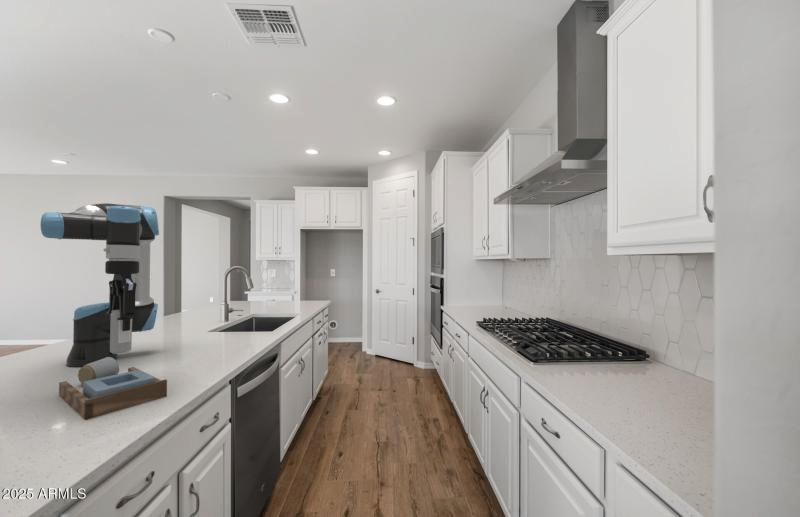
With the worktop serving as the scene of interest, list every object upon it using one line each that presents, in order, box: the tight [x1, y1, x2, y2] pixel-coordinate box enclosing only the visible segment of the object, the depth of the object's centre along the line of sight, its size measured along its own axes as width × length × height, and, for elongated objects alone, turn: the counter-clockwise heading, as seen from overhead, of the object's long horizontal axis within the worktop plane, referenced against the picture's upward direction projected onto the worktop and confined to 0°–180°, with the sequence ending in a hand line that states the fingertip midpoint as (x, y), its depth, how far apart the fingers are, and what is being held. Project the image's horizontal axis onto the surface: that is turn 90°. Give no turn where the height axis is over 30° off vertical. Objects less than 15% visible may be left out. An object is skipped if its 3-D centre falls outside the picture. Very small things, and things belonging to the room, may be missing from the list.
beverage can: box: [110, 309, 133, 355], centre depth 95 cm, size 5×5×12 cm
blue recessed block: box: [82, 369, 156, 399], centre depth 95 cm, size 12×13×6 cm
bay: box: [58, 366, 168, 421], centre depth 98 cm, size 26×18×6 cm
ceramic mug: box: [77, 357, 120, 385], centre depth 111 cm, size 11×8×8 cm
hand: (121, 340), depth 95 cm, fingers closed on beverage can, 5 cm apart
